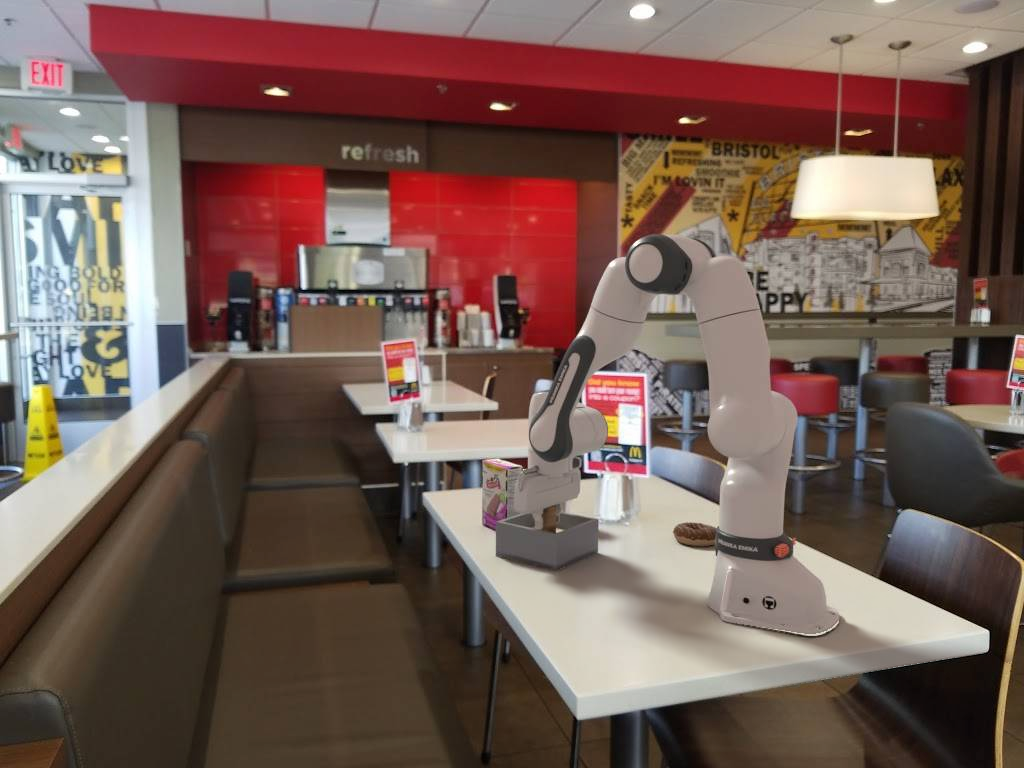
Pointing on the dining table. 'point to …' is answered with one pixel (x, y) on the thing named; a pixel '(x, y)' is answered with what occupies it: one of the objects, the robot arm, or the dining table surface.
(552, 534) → the open-top box
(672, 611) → the dining table surface
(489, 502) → the candy bar box
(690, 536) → the donut
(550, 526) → the peg
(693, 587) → the dining table surface
